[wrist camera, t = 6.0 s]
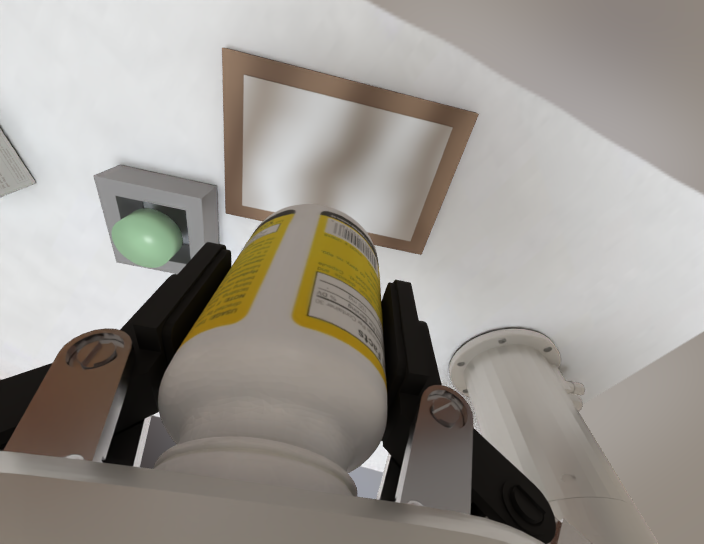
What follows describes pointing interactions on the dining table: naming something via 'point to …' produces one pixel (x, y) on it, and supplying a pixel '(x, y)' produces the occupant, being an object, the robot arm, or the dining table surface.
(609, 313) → the dining table surface
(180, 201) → the button housing
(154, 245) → the button
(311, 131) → the board
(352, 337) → the supplement bottle
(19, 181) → the supplement box
